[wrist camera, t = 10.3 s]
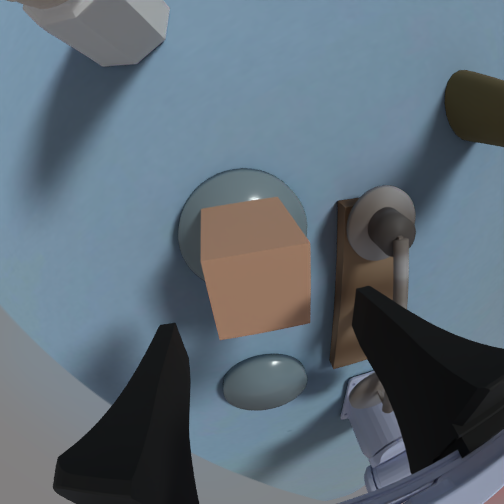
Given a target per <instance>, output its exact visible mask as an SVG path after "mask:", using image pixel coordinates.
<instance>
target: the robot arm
mask: <svg viewBox="0 0 504 504" xmlns="http://www.w3.org/2000/svg"><path fill="white" fill-rule="evenodd" d="M352 328H353V330H354V333H355V335H356V338H357V340H358V342H359V345H360V347H361V349H362V350H363V352H364V354H365V356H366V357H367V359H368V361H369V363H370V364H371V366H372V368H373V370H374V371H371V372H368V373H365V374H362V375H359V376H356V377H353V378H351V379H350V380H349V382H348V386H347V391H346V395H345V399H344V404H343V408H342V412H341V416H340V418H341V419H342V420H343V419H347V418H348V419H349V421H350V423H351V426H352V428H353V431H354V433H355V436H356V438H357V441H358V443H359V446H360V448H361V450H362V452H363V454H364V455H365V456H366V457H367V458H369V462H370V464H371V465H370V466H368V467H367V468H366V472H365V474H364V480H365V485H366V488H367V491H368V493H367V494H364V495H362V496H359V497H356V498H353V499H350V500H347V501H344V502H341V503H337V504H401V503H403V502H405V501H406V502H405V503H403V504H483V503H484V502H485V501H487V500H488V499H489V498H491V497H492V496H493V495H494V494H495V493H496V492H497V491H499V490H500V489H501V488H502V487H503V486H504V349H502V348H497V347H492V346H488V345H484V344H480V343H477V342H474V341H471V340H468V339H465V338H462V337H460V336H457V335H455V334H452V333H450V332H448V331H446V330H443V329H441V328H439V327H437V326H435V325H433V324H431V323H429V322H427V321H426V320H424V319H422V318H420V317H418V316H417V315H415V314H413V313H412V312H410V311H408V310H407V309H405V308H404V307H402V306H401V305H399V304H397V303H396V302H394V301H393V300H391V299H390V298H388V297H387V296H385V295H384V294H382V293H381V292H379V291H377V290H376V289H374V288H373V287H371V286H365V287H361V288H357V289H356V294H355V302H354V311H353V319H352ZM374 372H375V373H376V375H377V377H378V378H379V380H380V382H381V384H382V386H383V388H384V390H385V392H386V394H387V396H388V399H389V401H390V404H391V406H392V409H393V411H392V412H391V413H384V412H383V411H382V406H383V404H382V402H381V403H379V404H377V405H375V406H372V407H369V408H364V409H357V408H354V407H352V406H351V404H350V401H349V394H350V392H351V391H352V389H353V388H354V387H355V386H356V385H357V384H358V383H359V382H360V381H361V380H363V379H364V378H365V377H367V376H369V375H370V374H372V373H374ZM189 409H190V367H189V357H188V355H187V352H186V350H185V347H184V344H183V342H182V339H181V336H180V334H179V331H178V328H177V326H176V323H171V324H163V325H160V326H159V328H158V330H157V332H156V334H155V336H154V338H153V340H152V342H151V344H150V346H149V348H148V349H147V351H146V353H145V355H144V357H143V359H142V360H141V362H140V364H139V366H138V368H137V369H136V371H135V373H134V374H133V376H132V378H131V379H130V381H129V382H128V384H127V386H126V387H125V389H124V390H123V391H122V393H121V394H120V396H119V397H118V398H117V400H116V401H115V402H114V404H113V405H112V406H111V408H110V409H109V410H108V411H107V413H106V414H105V415H104V416H103V417H102V418H101V419H100V420H99V422H98V423H97V424H96V425H95V426H94V427H93V428H92V429H91V430H90V431H89V432H88V433H87V434H86V435H85V436H83V437H82V438H81V439H80V440H79V441H78V442H77V443H75V444H74V445H73V446H72V447H70V448H69V449H68V450H67V451H65V452H64V453H63V454H62V455H60V456H59V457H58V459H57V464H56V469H55V476H54V483H53V489H54V491H55V492H56V493H57V494H59V495H61V496H63V497H64V498H66V499H68V500H70V501H72V502H74V503H76V504H199V500H198V495H197V490H196V484H195V479H194V472H193V466H192V458H191V449H190V439H189ZM407 500H408V501H407Z"/></svg>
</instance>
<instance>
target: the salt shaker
mask: <svg viewBox="0 0 504 504" xmlns="http://www.w3.org/2000/svg"><path fill="white" fill-rule="evenodd" d="M7 1H11V2H16V1H17V2H19V3H22V4H24V5H23V10H24V11H25V12H26V13H27V14H28V15H29V16H30V17H31V18H32V19H33V20H34V21H35V22H36V23H37V24H38V25H39V26H40V27H41V28H43V29H44V30H45V31H47V32H48V33H50V34H51V35H53V36H55V37H56V38H58V39H60V40H61V41H63V42H65V43H66V44H68V45H69V46H71V47H73V48H74V49H76V50H77V51H79V52H81V53H82V54H84V55H85V56H87V57H88V58H90V59H92V60H93V61H95V62H96V63H98V64H99V65H101V66H102V67H106V66H117V65H131V64H138V63H139V62H140V61H141V60H142V59H143V58H144V57H145V56H147V55H148V54H149V53H150V52H151V51H152V50H153V49H155V48H156V47H157V46H158V45H159V44H161V43H162V42H163V41H164V40H165V38H166V31H167V24H168V17H169V11H170V8H169V7H168V5H167V4H166V3H165V2H164V1H163V0H7Z"/></svg>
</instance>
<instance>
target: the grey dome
mask: <svg viewBox="0 0 504 504" xmlns="http://www.w3.org/2000/svg"><path fill="white" fill-rule="evenodd" d="M272 197H278V198H279V199H280V201H281V202H282V203H283V205H284V206H285V208H286V209H287V210H288V212H289V213H290V215H291V216H292V217H293V219H294V220H295V222H296V223H297V225H298V226H299V227H300V229H301V230H302V232H303V233H304V235H305V236H306V237H307V218H306V214H305V211H304V208H303V206H302V204H301V202H300V200H299V199H298V197H297V196H296V195H295V193H294V192H293V191H292V190H291V189H290V188H289V187H288V186H287V185H286V184H285V183H284V182H283V181H282V180H280V179H279V178H277V177H276V176H274V175H272V174H269V173H267V172H264V171H261V170H256V169H248V168H240V169H232V170H227V171H224V172H221V173H218V174H216V175H214V176H212V177H210V178H208V179H207V180H205V181H204V182H203V183H201V184H200V185H199V186H198V187H197V188H196V189H195V190H194V191H193V192H192V194H191V195H190V196H189V198H188V200H187V201H186V203H185V205H184V207H183V210H182V213H181V217H180V222H179V229H178V241H179V247H180V250H181V253H182V256H183V258H184V260H185V262H186V263H187V265H188V266H189V268H190V269H191V270H192V271H193V272H194V273H195V274H196V275H197V276H198V277H200V278H201V279H202V280H204V281H205V278H204V274H203V269H202V265H201V209H203V208H209V207H215V206H221V205H227V204H233V203H239V202H245V201H252V200H258V199H265V198H272Z"/></svg>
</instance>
